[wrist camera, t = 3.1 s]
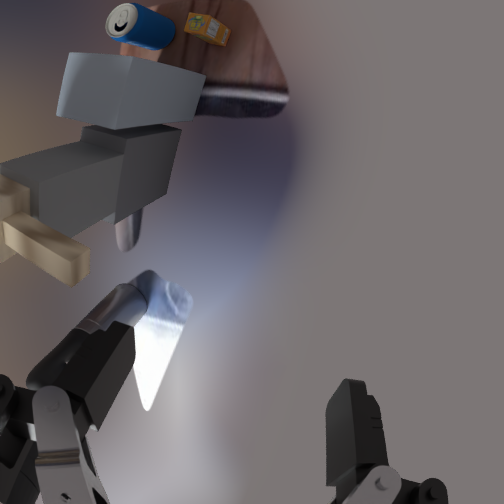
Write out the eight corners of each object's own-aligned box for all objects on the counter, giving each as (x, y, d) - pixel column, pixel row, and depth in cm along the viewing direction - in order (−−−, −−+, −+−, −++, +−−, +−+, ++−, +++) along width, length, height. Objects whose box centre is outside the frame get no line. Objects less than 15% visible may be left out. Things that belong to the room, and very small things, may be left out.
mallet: (101, 221, 21) (58, 248, 17) (98, 282, 24) (63, 313, 20) (0, 173, 22) (-36, 188, 18) (2, 224, 25) (-30, 242, 20)
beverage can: (141, 50, 41) (99, 41, 31) (149, 19, 38) (109, 3, 28) (172, 51, 41) (133, 38, 30) (181, 18, 38) (144, -2, 27)
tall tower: (166, 193, 52) (42, 272, 26) (130, 180, 53) (3, 245, 26) (181, 129, 47) (40, 161, 20) (143, 119, 47) (-1, 145, 21)
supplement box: (207, 44, 40) (180, 30, 31) (213, 26, 38) (189, 9, 29) (225, 48, 39) (203, 34, 31) (232, 30, 38) (211, 12, 29)
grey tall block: (192, 120, 46) (114, 129, 27) (143, 108, 46) (56, 115, 28) (206, 75, 42) (133, 56, 23) (155, 65, 42) (69, 52, 24)
